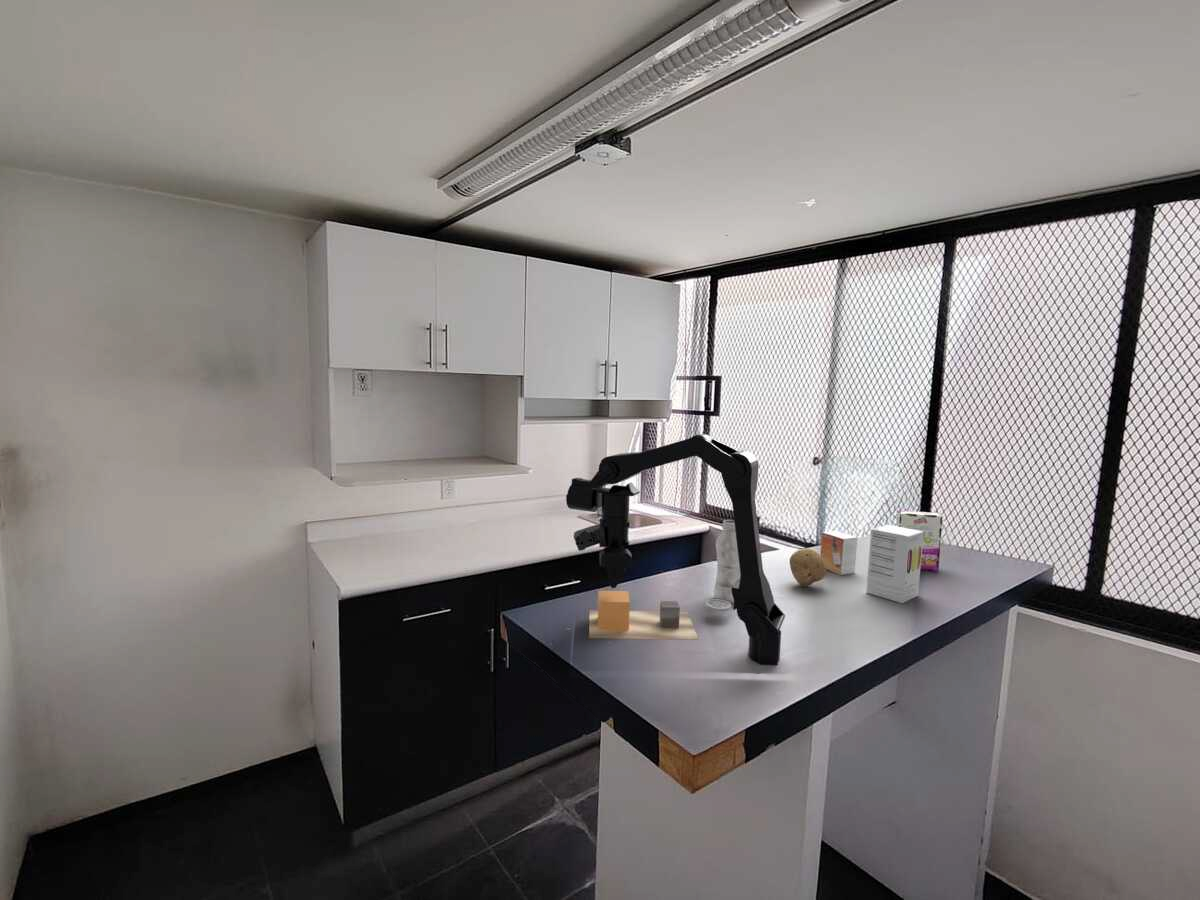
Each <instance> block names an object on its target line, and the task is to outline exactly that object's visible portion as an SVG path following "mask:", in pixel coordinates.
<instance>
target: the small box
mask: <svg viewBox="0 0 1200 900" xmlns="http://www.w3.org/2000/svg"><path fill="white" fill-rule="evenodd" d="M857 547H858V537H857V536H854V535H850V534H846V533H843V532H840V531H837V530H830V531H823V532H821V544H820V553H819V555H820V556H821V557H822V559H823V561H824V564H825V566H826V571H827V570H828V571H830V572H833V573H835V574H837V575H839V576H843V575H844V576H845V575H848V574H854V573H855V571H856V559H857V549H858V548H857Z"/></svg>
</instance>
